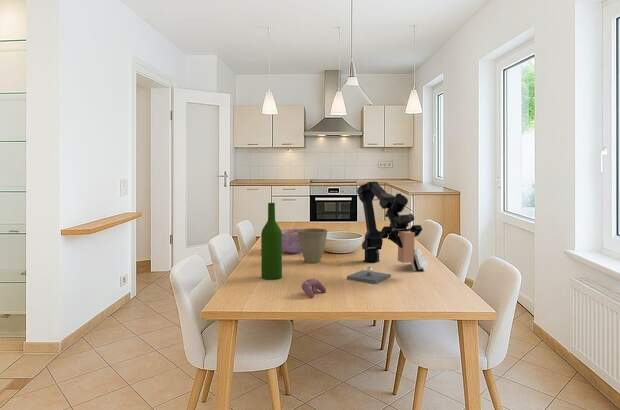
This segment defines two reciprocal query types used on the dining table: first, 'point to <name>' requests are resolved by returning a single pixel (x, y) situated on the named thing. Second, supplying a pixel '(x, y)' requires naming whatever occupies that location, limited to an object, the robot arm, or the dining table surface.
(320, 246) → the plant pot
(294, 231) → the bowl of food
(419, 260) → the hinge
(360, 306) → the dining table surface
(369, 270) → the metal stub
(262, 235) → the wine bottle
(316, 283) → the video game controller
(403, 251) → the terracotta sleeve
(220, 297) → the dining table surface
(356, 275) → the charcoal plate
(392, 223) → the robot arm
